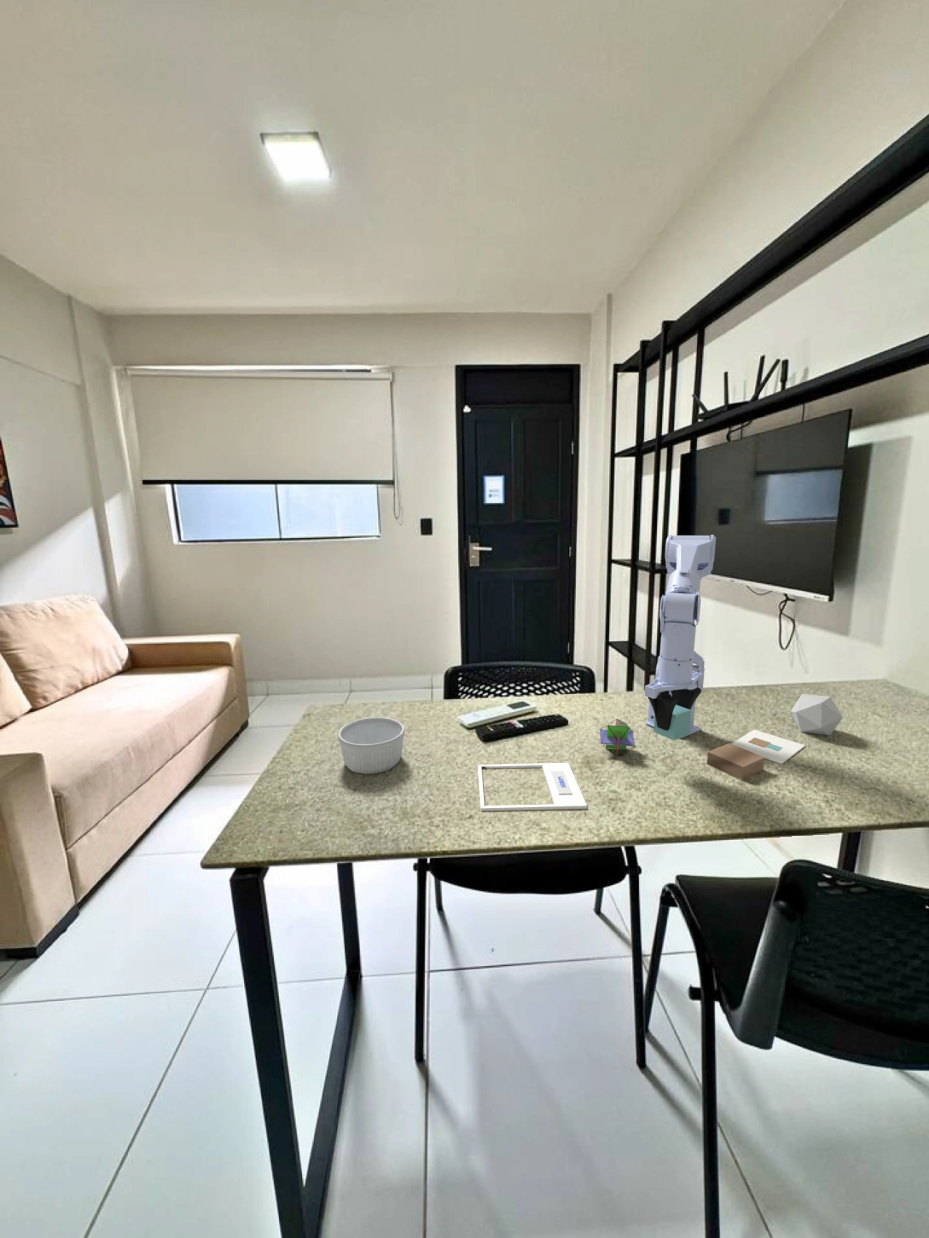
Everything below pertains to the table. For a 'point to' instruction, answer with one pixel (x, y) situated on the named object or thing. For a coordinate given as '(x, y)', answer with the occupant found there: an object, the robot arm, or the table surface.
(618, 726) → the geometric puzzle
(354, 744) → the ramekin
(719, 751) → the brown block
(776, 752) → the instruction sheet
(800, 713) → the die
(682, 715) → the teal brick
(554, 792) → the photo frame
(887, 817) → the table surface
